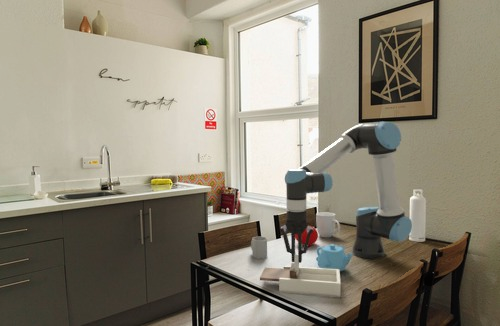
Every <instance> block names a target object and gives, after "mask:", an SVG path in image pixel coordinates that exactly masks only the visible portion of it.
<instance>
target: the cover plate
mask: <svg viewBox="0 0 500 326" xmlns="http://www.w3.org/2000/svg"><path fill="white" fill-rule="evenodd" d="M290 266H291V268H290V269H284V268H280V267H279V268H277V267H276V268H275V267H264V269H263V271H262V273H261V275H260V276H259V281H262V282H263V281H264V282H278V283H279V278H291V279H298V275H299V271H298V272H295V262H291V264H290Z"/></svg>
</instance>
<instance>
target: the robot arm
mask: <svg viewBox="0 0 500 326" xmlns="http://www.w3.org/2000/svg"><path fill="white" fill-rule="evenodd" d="M401 141H402V134H401V130H400V129H399V127H398V126H397V125H396V123H394V122H392V121H383V120H382V121H373V122H363V123H359V124H356V125H354V126H353V127H351V128H349V129H348V130H346V131H345V132H343V133H342V134H340V135H339V136H338V139H337V140H336V141H335V142H333V143H332V144H331V145H329V146H328V147H326V148H324V150H322V151H321V152H319V153H317V154H316V156H314V157H312V158H311V159H310V160H309V161H307V162H305V163H304V164H303V165H302V166H300V167H298V168H297V169H296V168H292V169H288V170H287V171H286V173H285V176H284V182H285V185H286V186H285V187H286V188H285V189H286V209H287V210H286V222H285V224H284V225H283V226H281V227H280V228H279V231H280V232H281V234H282V237H283V241H284V242H283V243H284V247H285V250H286V252H287V253H290V254H291V263H295V272H298V271H299V267H300V264H301V263H302V261H303V254H306V253H307V250H308V246H309V245H308V243H309V239H310V235H311V234H312V232H313V228H311V227H312V226H311V227H309V226H310V225H309V224H308V221H307V195H308V194H316V193H326V192H329V191H330V190H332V187H333V182H334V181H333V177H332V176H331V175H330V174H329V173H327V172H325V171H326V170H328V168H331V166H332V167H333V165H334V164H336V163H337V162H339V161H340V159H343V158H344V157H345V156H346V155H348V154H352V153H354V152H355V151H357V150H360V149H367V153H368V155H369V156H370V157H372V162H373V168H374V176H375V177H374V178H375V184H376V191H377V200H378V205H379V206H364V207H359V208H358V209H357V210H356V215H355V220H356V221H355V223H356V224H355V226H356V227H355V231H356V235H355V236H356V237H355V239H354V243H353V246H352V254H353V255H354V256H356V257H360V258H364V259H371V260H372V259H381V258H384V257H385V256H386V253H385V252H386V250H385V247H384V242H383V240H382V238H383V239H388V240H390V241H392V242H393V241H394V242H398V243H399V242H404V241H405V240H407V239H408V237H409V236H410V235H409V234H410V232H411V229H412V222H411V220H410V217H408V216H406V213H405V209H404V208H403V207H401V205H400V197H399V196H400V195H399V188H398V183H397V180H398V179H397V174H396V173H397V172H396V166H395V165H396V164H395V159H394V158H395V157H394V155H395V154H396V152H397V148H398V147H399V146H400V144H401ZM306 228H307V232H308V233H307V237H306V241H305V245H303V244H302V233H303V232H304V231H305V230H306ZM287 231H288V232H289V233H290V235H291V236H290V237H291V238H290V240H291V242H290V241H289V238H288V237H289V236H288V233H287ZM295 234H298V241H297V246H298V247H297V250H298V251H297V252H296V238H295ZM303 246H304V247H303Z"/></svg>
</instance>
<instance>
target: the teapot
mask: <svg viewBox="0 0 500 326" xmlns="http://www.w3.org/2000/svg"><path fill="white" fill-rule="evenodd" d="M344 248H345V247H344V246H343V245H341V244H340V245H339V246H338V245H336V244H334V243H331V244H328V245H326V246H318V247H317V248H316V253H317V257H316V261H317V265H318V268H327V269H339V271H340V272H343V271H344V270H345V269H346V268H347V266H348V265H349V263H350V261H351V259H352V256H353V255H354V254H353V252H348V254H347V255H346V252H345V250H344ZM320 249H321V250H320Z"/></svg>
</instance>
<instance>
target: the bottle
mask: <svg viewBox="0 0 500 326" xmlns="http://www.w3.org/2000/svg"><path fill="white" fill-rule="evenodd" d="M412 192H413V193H412V194H413V195H412V196H411V197H410V198H409V219H410V220H411V222H412V229H411V232H410V234H409V236H408V237H409V238H408V239H409V240H410V241H412V242H416V243H417V242H418V243H419V242H420V243H422V242H425V241H426V223H427V221H426V216H427V215H426V214H427V213H426V211H427V199H426V197H425V196H424V195H423V194H424V193H423V192H424V190H423V189H418V188H416V189H414V188H413V191H412ZM416 192H417V193H416Z"/></svg>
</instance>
